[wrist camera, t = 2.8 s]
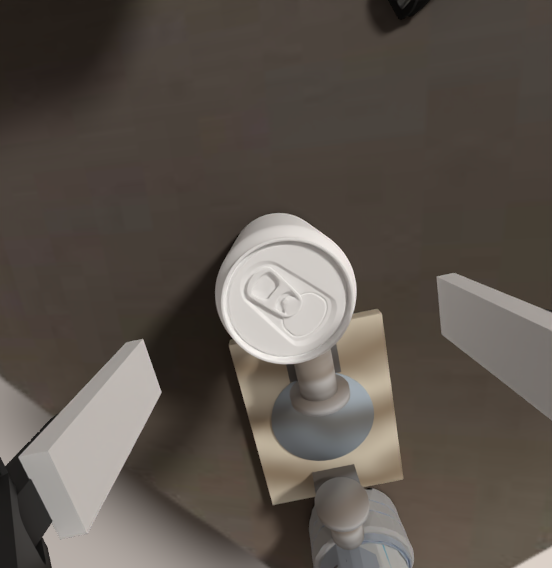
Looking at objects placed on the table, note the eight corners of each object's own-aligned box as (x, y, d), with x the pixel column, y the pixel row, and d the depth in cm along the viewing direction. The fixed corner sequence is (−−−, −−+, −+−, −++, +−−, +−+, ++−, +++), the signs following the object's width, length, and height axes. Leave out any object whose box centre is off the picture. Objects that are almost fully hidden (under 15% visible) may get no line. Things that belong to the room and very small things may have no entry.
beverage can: (285, 319, 31) (297, 397, 19) (213, 267, 29) (180, 317, 18) (343, 251, 29) (395, 291, 18) (270, 192, 28) (276, 193, 16)
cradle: (229, 339, 31) (218, 388, 23) (377, 308, 31) (414, 347, 23) (272, 495, 36) (274, 576, 29) (398, 469, 36) (435, 545, 28)
